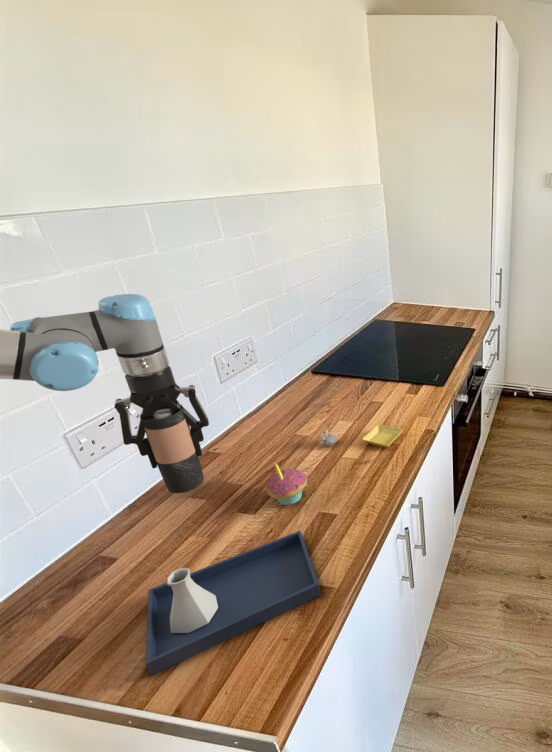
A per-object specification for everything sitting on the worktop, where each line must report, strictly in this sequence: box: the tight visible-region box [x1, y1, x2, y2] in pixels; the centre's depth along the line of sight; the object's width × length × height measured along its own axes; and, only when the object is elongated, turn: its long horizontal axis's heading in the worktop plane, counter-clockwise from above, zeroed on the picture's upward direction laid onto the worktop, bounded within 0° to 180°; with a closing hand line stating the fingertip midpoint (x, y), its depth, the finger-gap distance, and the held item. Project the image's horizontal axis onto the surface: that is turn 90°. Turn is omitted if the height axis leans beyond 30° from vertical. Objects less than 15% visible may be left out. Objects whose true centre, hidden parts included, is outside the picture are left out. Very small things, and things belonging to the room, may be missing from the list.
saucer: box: [361, 423, 404, 449], centre depth 125 cm, size 9×9×2 cm
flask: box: [166, 567, 218, 633], centre depth 74 cm, size 7×7×10 cm
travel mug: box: [139, 404, 205, 494], centre depth 98 cm, size 8×8×20 cm
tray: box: [145, 530, 322, 676], centre depth 79 cm, size 25×15×3 cm, turn 125°
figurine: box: [318, 424, 338, 448], centre depth 121 cm, size 5×4×6 cm
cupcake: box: [265, 462, 308, 506], centre depth 100 cm, size 9×8×12 cm
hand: (177, 458), depth 99 cm, fingers closed on travel mug, 8 cm apart
